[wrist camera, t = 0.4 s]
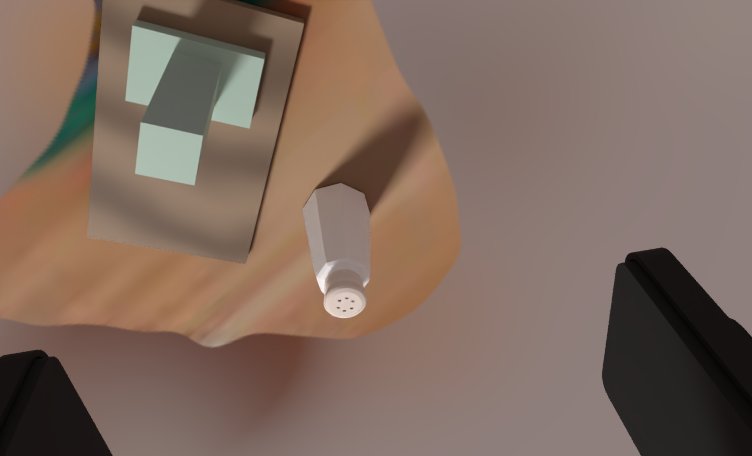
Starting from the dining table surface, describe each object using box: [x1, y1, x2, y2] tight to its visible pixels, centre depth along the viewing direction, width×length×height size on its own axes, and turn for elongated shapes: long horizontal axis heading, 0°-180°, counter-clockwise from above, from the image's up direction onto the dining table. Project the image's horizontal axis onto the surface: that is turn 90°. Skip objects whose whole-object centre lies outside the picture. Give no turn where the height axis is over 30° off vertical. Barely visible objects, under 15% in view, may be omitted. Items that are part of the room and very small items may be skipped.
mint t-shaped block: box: [125, 19, 265, 186], centre depth 36 cm, size 5×8×11 cm, turn 73°
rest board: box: [87, 0, 304, 264], centre depth 44 cm, size 20×12×1 cm, turn 163°
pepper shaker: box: [302, 183, 370, 318], centre depth 45 cm, size 5×5×11 cm
